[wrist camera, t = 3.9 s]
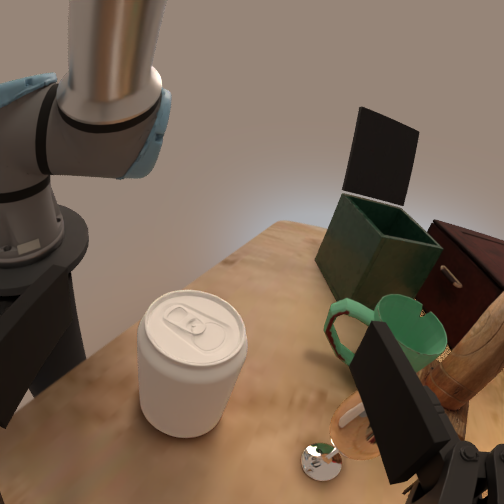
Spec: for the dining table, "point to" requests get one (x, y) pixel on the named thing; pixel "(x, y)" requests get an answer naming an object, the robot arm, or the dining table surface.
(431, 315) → the mug
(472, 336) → the bird sculpture
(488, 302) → the storage box
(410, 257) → the green cube bin
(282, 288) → the dining table surface
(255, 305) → the dining table surface
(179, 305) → the beverage can
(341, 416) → the wineglass
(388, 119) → the black flat panel
